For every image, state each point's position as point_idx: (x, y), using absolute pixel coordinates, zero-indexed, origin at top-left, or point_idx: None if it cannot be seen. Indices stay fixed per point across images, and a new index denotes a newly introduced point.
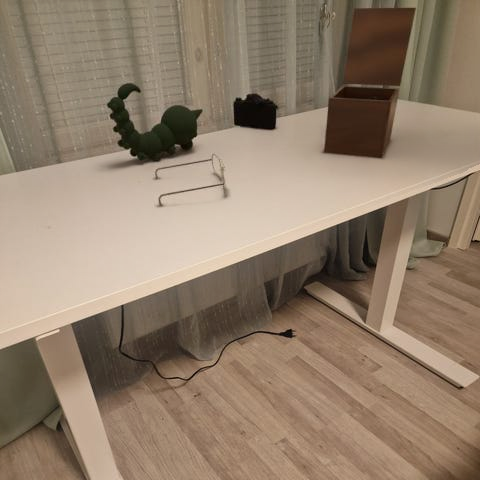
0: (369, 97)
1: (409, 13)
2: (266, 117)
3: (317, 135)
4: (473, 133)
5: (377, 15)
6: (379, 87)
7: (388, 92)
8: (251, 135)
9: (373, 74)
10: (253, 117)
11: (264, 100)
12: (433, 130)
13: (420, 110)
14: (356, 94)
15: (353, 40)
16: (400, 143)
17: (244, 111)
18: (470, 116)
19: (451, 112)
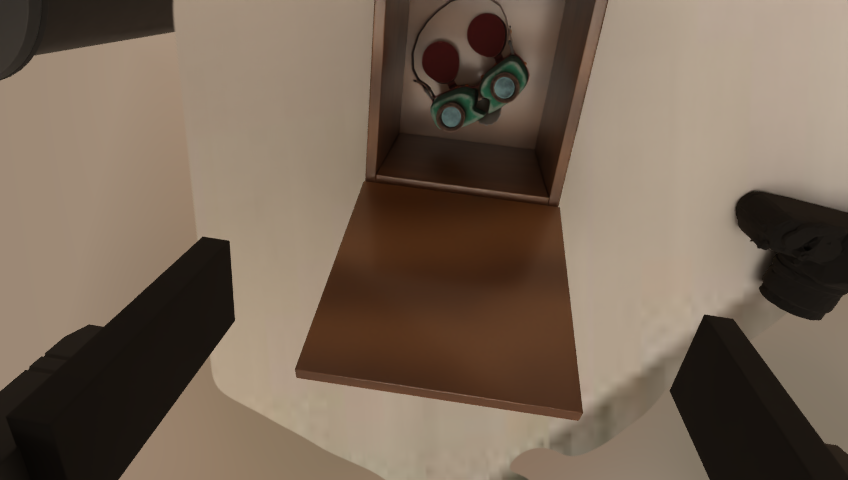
0: (460, 174)
1: (323, 352)
2: (785, 205)
3: (600, 155)
4: (198, 230)
5: (465, 369)
6: (430, 189)
7: (400, 173)
8: (822, 122)
9: (455, 213)
10: (830, 215)
11: (820, 239)
12: (290, 244)
13: (334, 406)
14: (504, 183)
15: (553, 305)
16: (363, 115)
17: None
18: (219, 365)
19: (263, 394)
